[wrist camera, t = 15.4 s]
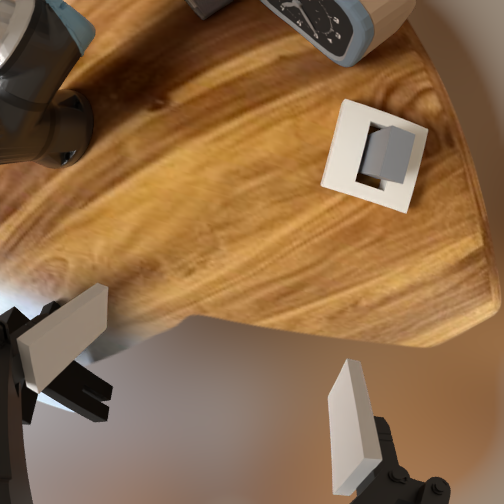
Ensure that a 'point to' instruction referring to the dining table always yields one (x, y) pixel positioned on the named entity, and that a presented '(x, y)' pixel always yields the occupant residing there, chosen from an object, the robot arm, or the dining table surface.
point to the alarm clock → (343, 24)
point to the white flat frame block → (351, 149)
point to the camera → (207, 6)
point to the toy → (64, 381)
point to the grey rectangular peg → (387, 154)
